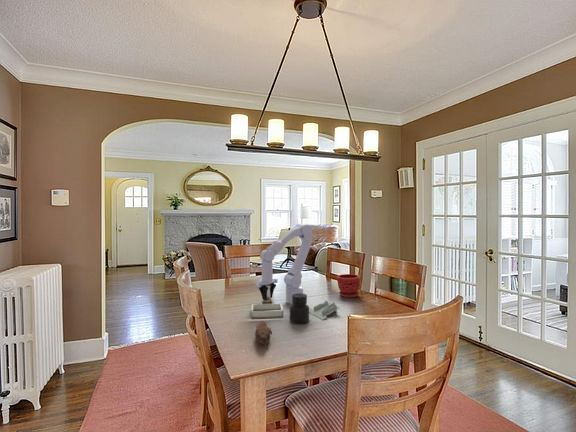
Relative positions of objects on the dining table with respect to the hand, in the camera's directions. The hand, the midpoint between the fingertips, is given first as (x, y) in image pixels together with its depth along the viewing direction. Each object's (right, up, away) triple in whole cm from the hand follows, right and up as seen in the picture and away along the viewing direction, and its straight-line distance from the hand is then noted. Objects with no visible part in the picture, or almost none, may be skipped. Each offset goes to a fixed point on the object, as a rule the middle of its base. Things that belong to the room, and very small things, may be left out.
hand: (267, 298), depth 167 cm
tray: (+1, -5, -12) cm, 13 cm away
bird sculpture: (+1, -6, -42) cm, 42 cm away
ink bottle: (+16, -5, -21) cm, 27 cm away
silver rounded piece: (0, -2, 0) cm, 2 cm away
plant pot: (+47, -4, +22) cm, 52 cm away
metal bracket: (+29, -5, -11) cm, 31 cm away
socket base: (0, -5, 0) cm, 4 cm away
